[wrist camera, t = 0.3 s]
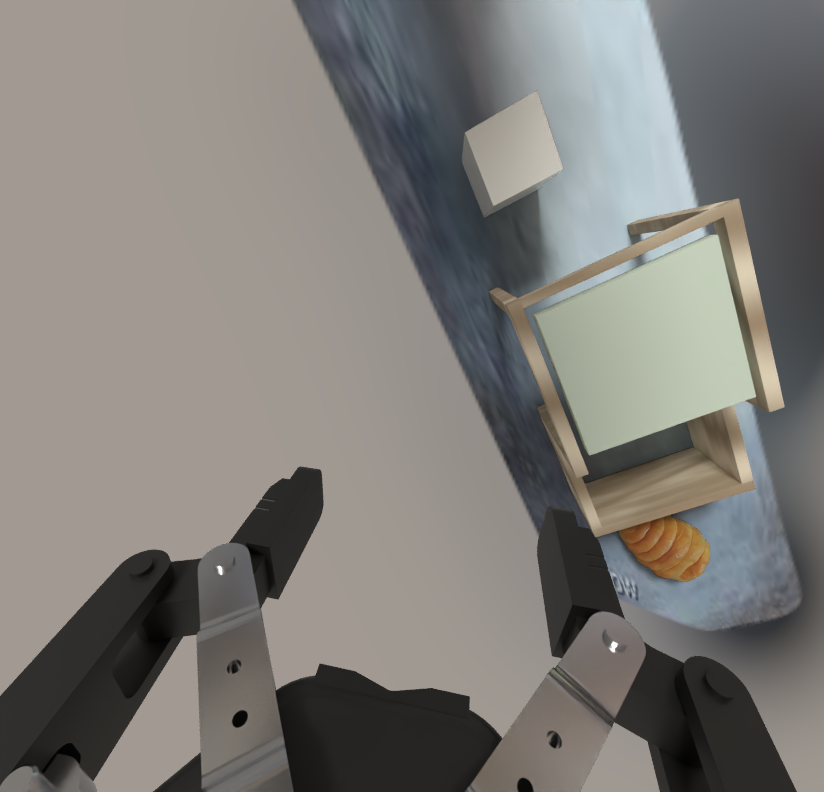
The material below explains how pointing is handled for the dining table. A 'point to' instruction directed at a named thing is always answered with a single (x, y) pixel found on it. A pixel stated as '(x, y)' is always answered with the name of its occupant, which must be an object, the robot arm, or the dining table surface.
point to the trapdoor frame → (711, 434)
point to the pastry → (668, 548)
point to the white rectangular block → (510, 155)
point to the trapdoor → (649, 347)
